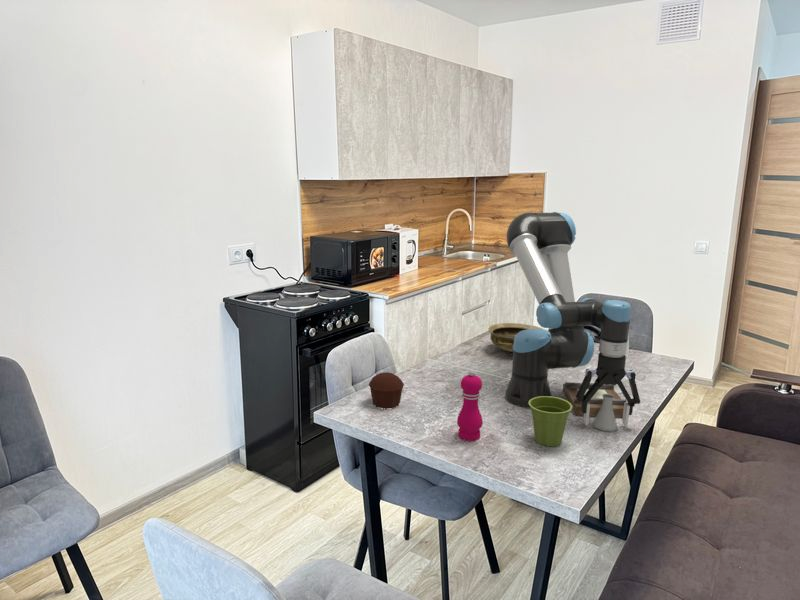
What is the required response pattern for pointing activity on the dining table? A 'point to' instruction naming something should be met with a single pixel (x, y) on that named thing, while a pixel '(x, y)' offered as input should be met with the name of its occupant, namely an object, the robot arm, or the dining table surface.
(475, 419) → the pepper mill
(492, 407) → the dining table surface
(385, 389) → the muffin
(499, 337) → the ceramic bowl
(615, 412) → the dock
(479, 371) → the dining table surface
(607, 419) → the flask
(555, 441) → the plant pot
